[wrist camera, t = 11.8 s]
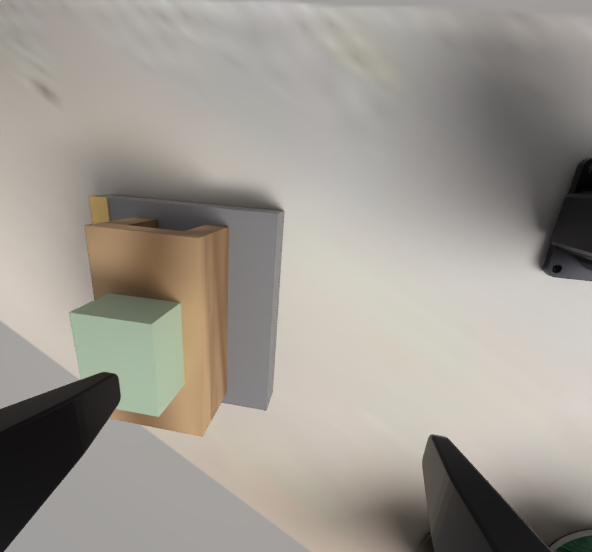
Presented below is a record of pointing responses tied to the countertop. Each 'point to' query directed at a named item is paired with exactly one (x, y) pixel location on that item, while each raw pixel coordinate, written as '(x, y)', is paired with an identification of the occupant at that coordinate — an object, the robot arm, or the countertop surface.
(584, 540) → the canned tomato
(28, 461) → the robot arm
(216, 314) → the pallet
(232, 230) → the dock
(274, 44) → the countertop surface
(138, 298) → the pale green block
